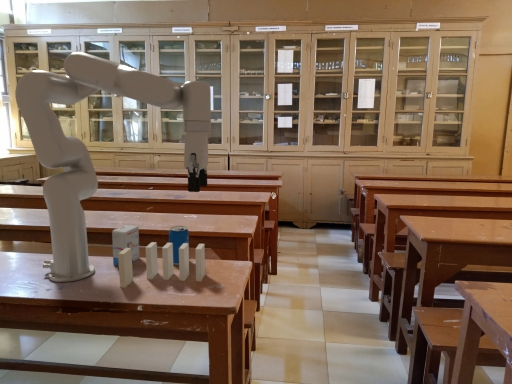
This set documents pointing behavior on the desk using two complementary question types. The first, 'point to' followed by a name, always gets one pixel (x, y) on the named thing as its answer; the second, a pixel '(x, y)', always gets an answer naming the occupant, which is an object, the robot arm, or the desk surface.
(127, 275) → the domino
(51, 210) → the robot arm
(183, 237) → the beverage can
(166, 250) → the domino
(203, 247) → the domino
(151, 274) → the domino
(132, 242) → the ink box
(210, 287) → the desk surface
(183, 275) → the domino
